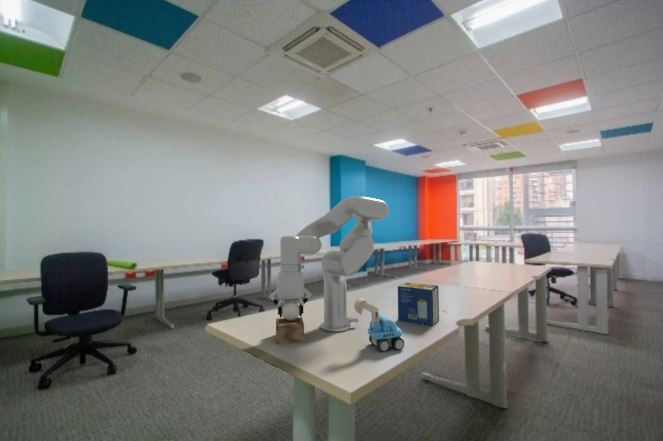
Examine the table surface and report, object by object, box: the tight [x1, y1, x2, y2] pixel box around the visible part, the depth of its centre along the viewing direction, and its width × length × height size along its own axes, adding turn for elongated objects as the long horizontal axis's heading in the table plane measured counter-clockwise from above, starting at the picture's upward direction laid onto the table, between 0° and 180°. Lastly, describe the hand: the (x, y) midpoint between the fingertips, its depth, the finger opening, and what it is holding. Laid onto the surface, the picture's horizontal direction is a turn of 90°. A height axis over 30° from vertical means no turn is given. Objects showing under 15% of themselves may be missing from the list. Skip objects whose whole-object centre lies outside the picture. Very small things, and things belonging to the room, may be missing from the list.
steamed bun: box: [282, 301, 300, 320], centre depth 116 cm, size 7×7×7 cm
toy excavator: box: [353, 297, 405, 353], centre depth 106 cm, size 9×17×17 cm, turn 106°
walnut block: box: [275, 316, 305, 345], centre depth 115 cm, size 10×10×6 cm
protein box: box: [397, 282, 440, 327], centre depth 137 cm, size 10×15×16 cm
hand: (290, 315), depth 116 cm, fingers closed on steamed bun, 6 cm apart
